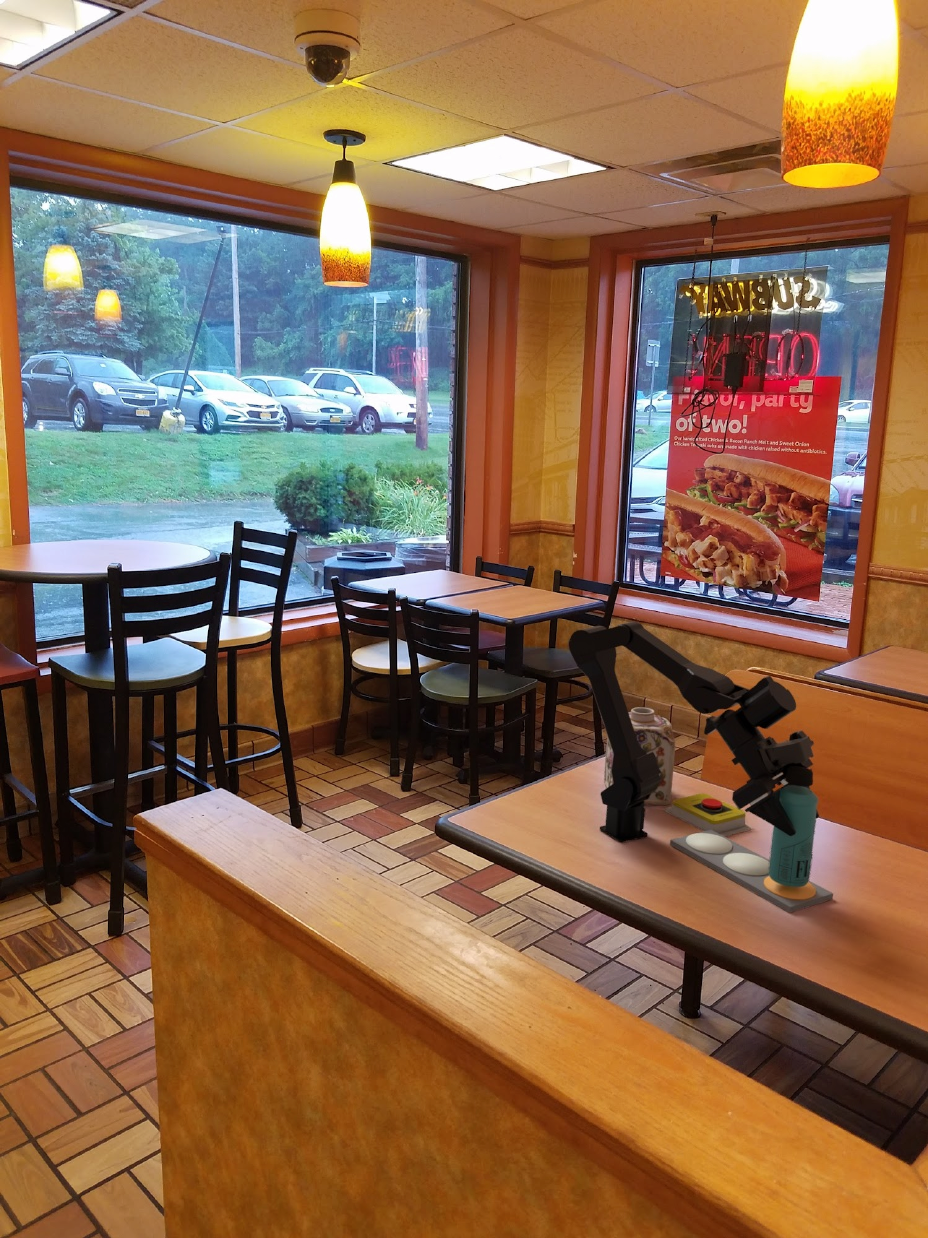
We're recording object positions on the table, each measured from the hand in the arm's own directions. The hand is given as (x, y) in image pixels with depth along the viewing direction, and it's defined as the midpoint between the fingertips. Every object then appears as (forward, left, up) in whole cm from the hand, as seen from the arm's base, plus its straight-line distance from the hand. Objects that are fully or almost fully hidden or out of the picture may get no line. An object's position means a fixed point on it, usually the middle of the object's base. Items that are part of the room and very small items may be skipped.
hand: (805, 826), depth 149 cm
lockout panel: (0, +10, -12) cm, 16 cm away
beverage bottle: (-1, +1, -11) cm, 11 cm away
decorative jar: (+5, +45, -12) cm, 47 cm away
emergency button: (+9, +30, -13) cm, 33 cm away
